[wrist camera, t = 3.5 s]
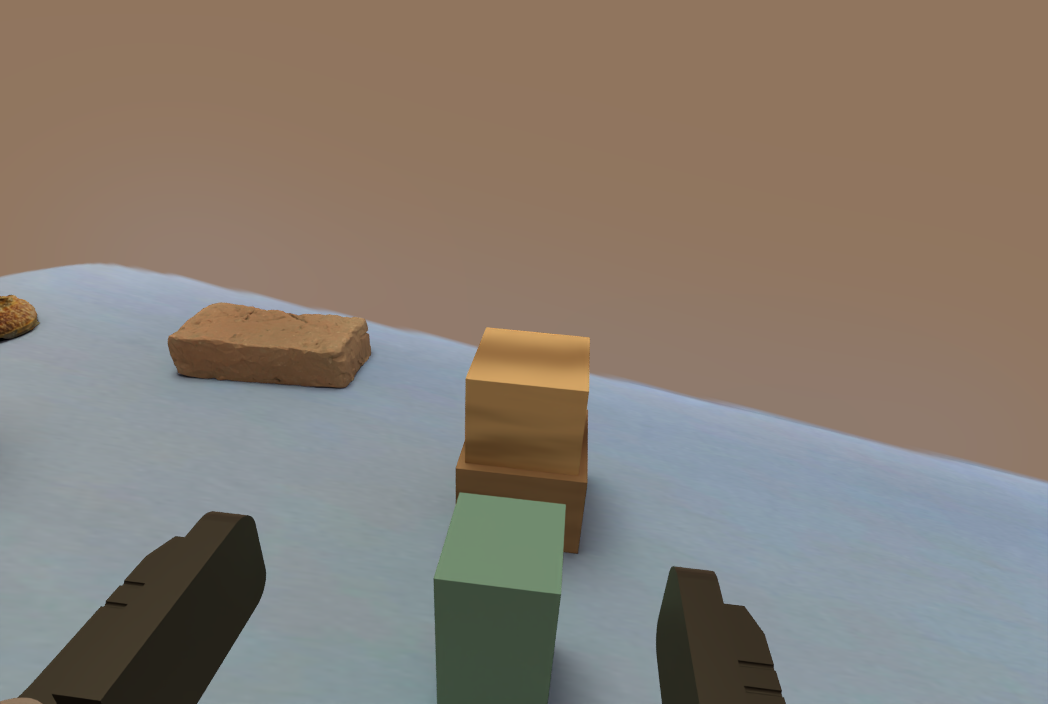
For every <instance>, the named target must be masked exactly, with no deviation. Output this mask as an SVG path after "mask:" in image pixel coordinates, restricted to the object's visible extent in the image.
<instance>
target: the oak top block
mask: <svg viewBox="0 0 1048 704" xmlns="http://www.w3.org/2000/svg"><path fill="white" fill-rule="evenodd" d="M589 346H590V338H589V337H578V336H568V335H559V334H548V333H538V332H528V331H518V330H506V329H497V328H486V330H485V332H484V335H483V337H482V340H481V342H480V344H479V347H478V349H477V352H476V354H475V357H474V359H473V362H472V364H471V367H470V369H469V372H468V374H467V377H466V396H465V463H472V464H481V465H490V466H498V467H507V468H516V469H524V470H533V471H542V472H550V473H559V474H568V475H577V476H578V474H579V466H580V458H581V450H582V442H583V434H584V426H585V419H586V411H587V403H588V395H589V354H590V347H589Z"/></svg>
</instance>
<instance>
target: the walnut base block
mask: <svg viewBox="0 0 1048 704" xmlns="http://www.w3.org/2000/svg"><path fill="white" fill-rule="evenodd" d="M587 461H588V410H587V411H586V419H585V426H584V434H583V442H582V450H581V458H580V466H579V474H578V476H577V475H568V474H559V473H550V472H542V471H533V470H524V469H516V468H507V467H498V466H490V465H481V464H472V463H465V442H464V445H463V448H462V451H461V454H460V457H459V460H458V463H457V466H456V503H457V499H458V496H459V493H460V492H461V493H470V494H478V495H487V496H496V497H505V498H514V499H522V500H531V501H540V502H549V503H558V504H566V510H565V528H564V547H563V552H568V553H576V554H578V548H579V541H580V533H581V526H582V519H583V511H584V504H585V497H586V489H587Z"/></svg>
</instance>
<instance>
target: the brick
mask: <svg viewBox="0 0 1048 704" xmlns="http://www.w3.org/2000/svg"><path fill="white" fill-rule="evenodd" d="M367 331H368V326H367V323H366V320H365V319H363V318H357V317H352V318H349V317H341V316H338V315H330V314H329V315H321V314H313V315H312V314H303V315H299V316H298V315H295V314H291V313H285V312H284V311H279V310H268V311H266V310H261V309H259V308H254V307H247V306H244V305H235V304H230V303H216V304H212V305H209V306H208V307H206V308H203V309H202V310H201V311H200V312H198V313H197V314H196V315H195V316H194V317H192V318H190V319H189V320H188V321H186V323H185V324H184V325H183V326H182V327H181V328H180V329H179V330H178V331H177V332H175V333H173V334H172V335H171V336H169V338H168V347H169V351H170V355H171V357H172V359H173V362H174V365H175V366H176V368H177V370H178V373H180V374H183V375H187V376H192V377H199V378H216V379H217V380H226V379H227V380H231V381H244V382H259V383H276V384H287V385H301V386H310V387H311V386H316V387H320V386H325V387H337V388H343V387H346V386H347V385H349V383H350V382H351V381H353V380H354V377H355V376H354V375H355V374H356V372H357V371H358V370H359V369H360V367H361V366H362V365H363V364H364V363H365V362H366V361H367V360H368V359H369V356H370V355H371V346H370V339H369V334H368V333H366V332H367Z"/></svg>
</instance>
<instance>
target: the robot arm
mask: <svg viewBox="0 0 1048 704" xmlns="http://www.w3.org/2000/svg"><path fill="white" fill-rule="evenodd" d="M265 581H266V569H265V564H264V560H263V555H262V551H261V546H260V542H259V537H258V533H257V528H256V524H255V521H254V519H253V518H252V517H251V516H248V515H240V514H231V513H223V512H214V511H212V512H208V513H206V514H205V515H204V516H203V517H202V518H201V519H200V520H199V521H198V522H197V523H196V525H195V526H194V527H193V528H192V529H191V530H190V532H189V533H188V534H187V535H186V536H185V537H178V536H175V537H174V538H172V539H171V540H169V541H168V542H166V543H165V544H163V545H162V546H160V547H159V548H157V549H156V550H154V551H153V552H151V553H150V554H149V555H147V556H146V557H145V558H144V559H143V560H142V561H141V562H140V564H139V565H138V566H137V567H136V568H135V569H134V570H133V571H132V572H131V574H130V575H129V576H128V577H127V578H126V579H125V580H124V584H123V585H122V586H119V587H118V588H117V589H116V590H115V591H114V592H113V594H112V595H111V596H110V597H109V598H108V599H107V600H106V604H105V606H104V607H102V606H101V607H100V608H99V609H98V610H97V611H96V613H95V614H94V615H93V616H92V617H91V618H90V619H89V620H88V621H87V623H86V624H85V625H84V626H83V627H82V628H81V629H80V630H79V631H78V633H77V634H76V635H75V636H74V637H73V638H72V639H71V640H70V642H69V643H68V644H67V645H66V646H65V647H64V648H63V649H62V650H61V652H60V653H59V654H58V655H57V656H56V657H55V658H54V659H53V660H52V662H51V663H50V664H49V665H48V666H47V667H46V668H45V669H44V670H43V672H42V673H41V674H40V675H39V676H38V677H37V678H36V679H35V680H34V682H33V683H32V684H31V685H30V686H29V687H28V688H27V689H26V690H25V691H24V692H23V693H22V694H21V695H20V696H19V697H17V698H13V699H8V700H4V701H1V702H0V704H197V703H198V701H199V700H200V698H201V696H202V695H203V693H204V692H205V690H206V688H207V687H208V685H209V683H210V682H211V680H212V678H213V677H214V675H215V674H216V672H217V670H218V669H219V667H220V665H221V664H222V662H223V660H224V659H225V657H226V656H227V654H228V652H229V651H230V649H231V647H232V646H233V644H234V642H235V641H236V639H237V638H238V636H239V634H240V633H241V631H242V629H243V628H244V626H245V625H246V623H247V621H248V620H249V618H250V616H251V615H252V613H253V611H254V610H255V608H256V607H257V605H258V603H259V601H260V599H261V596H262V594H263V590H264V586H265ZM656 653H657V663H658V672H659V681H660V690H661V698H662V704H786V703H785V700H784V697H782V694H781V692H782V690H781V686H780V683H779V680H778V677H777V673H776V671H774V664H773V660H772V657H771V654H770V651H769V647H768V644H767V641H766V638H765V634H764V633H763V631H762V630H761V628H760V627H759V626H758V624H757V623H756V622H755V620H754V619H753V617H752V616H751V615H750V613H749V612H748V611H747V609H746V608H745V606H739V605H731V604H724V603H723V599H722V595H721V591H720V587H719V583H718V579H717V576H716V574H715V572H713V571H708V570H700V569H691V568H683V567H674V566H673V567H671V569H670V572H669V576H668V580H667V584H666V588H665V593H664V597H663V601H662V605H661V609H660V614H659V618H658V623H657V633H656Z"/></svg>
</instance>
